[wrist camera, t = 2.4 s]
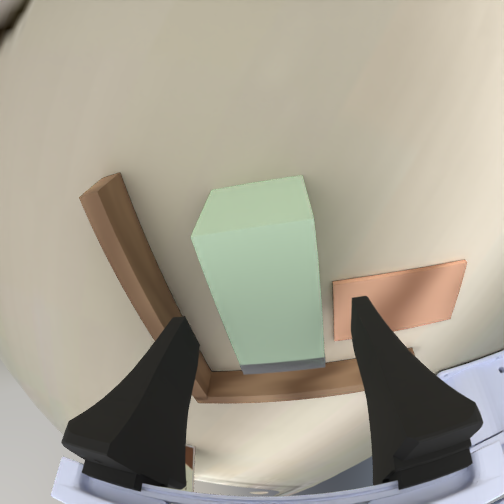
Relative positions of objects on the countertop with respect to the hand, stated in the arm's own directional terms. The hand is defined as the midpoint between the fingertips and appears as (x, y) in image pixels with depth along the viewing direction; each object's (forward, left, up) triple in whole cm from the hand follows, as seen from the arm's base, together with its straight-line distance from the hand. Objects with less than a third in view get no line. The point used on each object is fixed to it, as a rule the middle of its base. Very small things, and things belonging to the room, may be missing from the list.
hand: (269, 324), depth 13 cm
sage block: (0, 0, -5) cm, 5 cm away
